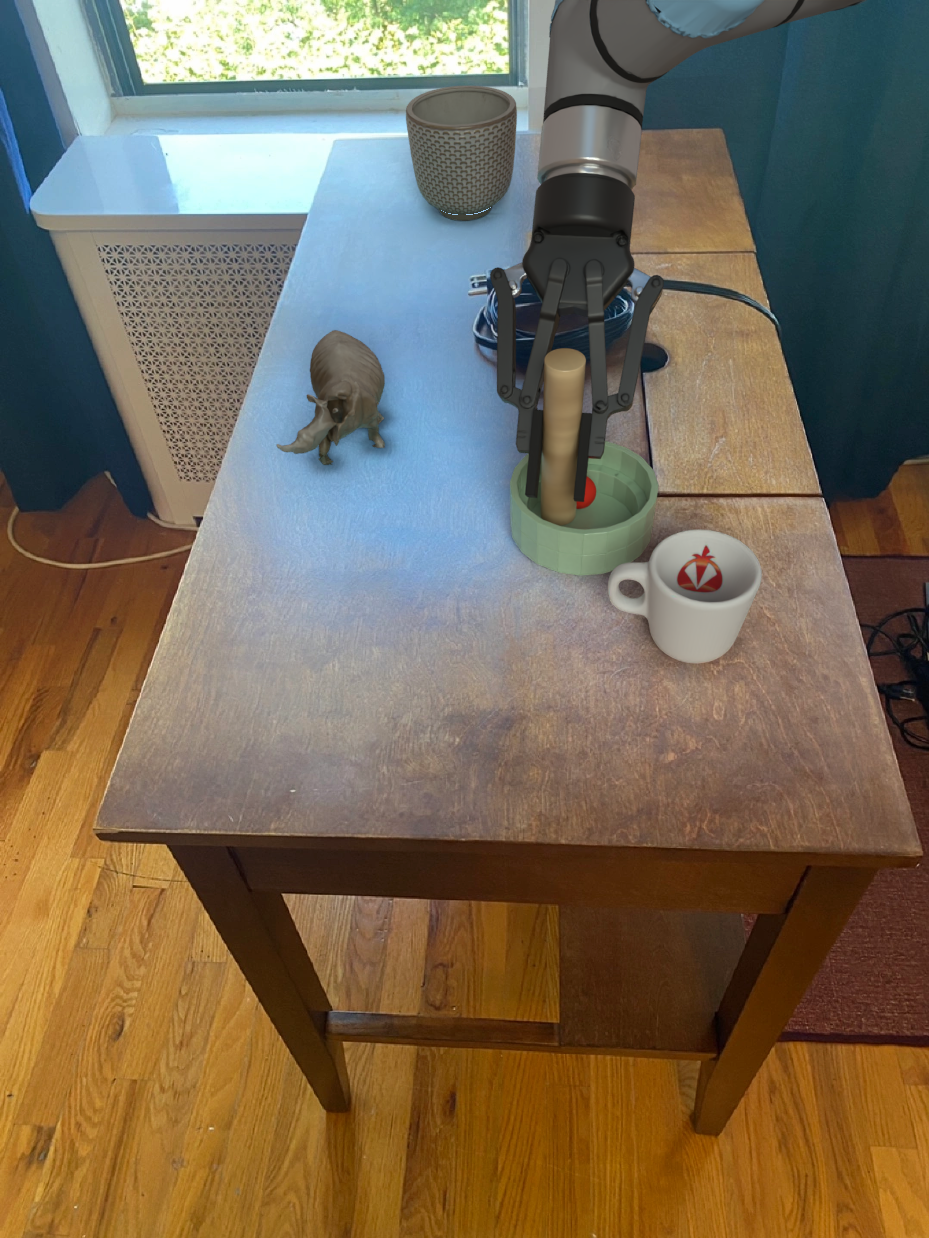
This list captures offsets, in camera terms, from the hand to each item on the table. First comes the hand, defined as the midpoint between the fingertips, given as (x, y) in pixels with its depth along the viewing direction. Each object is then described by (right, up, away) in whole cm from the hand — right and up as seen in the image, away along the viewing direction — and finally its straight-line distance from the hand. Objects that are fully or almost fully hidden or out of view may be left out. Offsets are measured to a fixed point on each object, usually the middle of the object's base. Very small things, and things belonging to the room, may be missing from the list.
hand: (555, 497), depth 71 cm
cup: (+9, -11, +1) cm, 14 cm away
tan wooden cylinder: (+1, 0, +6) cm, 6 cm away
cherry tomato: (+3, +2, +9) cm, 10 cm away
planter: (-7, +46, +52) cm, 70 cm away
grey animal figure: (-19, +8, +19) cm, 28 cm away
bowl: (+3, -2, +9) cm, 10 cm away
